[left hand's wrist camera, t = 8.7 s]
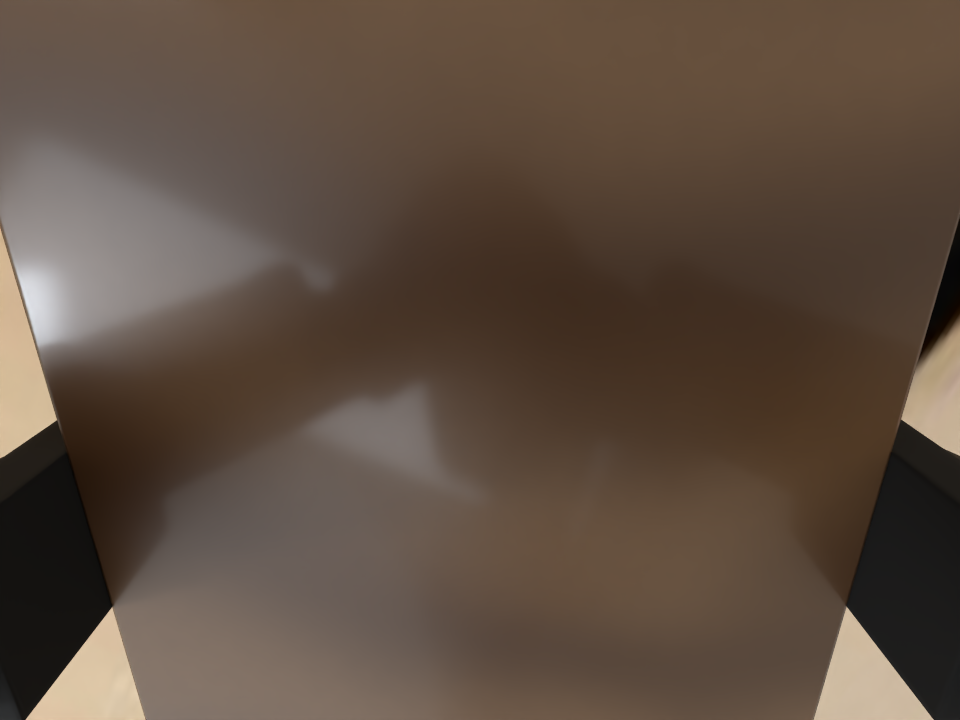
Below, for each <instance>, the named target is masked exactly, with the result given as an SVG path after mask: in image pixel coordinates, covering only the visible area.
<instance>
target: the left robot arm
mask: <svg viewBox="0 0 960 720" xmlns="http://www.w3.org/2000/svg"><path fill="white" fill-rule="evenodd" d="M847 607H848V609H849V610H850V611H851V613H852V614H853V615H854V617H855V618H856V619H857V620H858V622H859V623H860V624H861V626H862V627H863V628H864V630H865V631H866V632H867V633H868V635H869V636H870V637H871V639H872V640H873V641H874V643H875V644H876V645H877V646H878V648H879V649H880V650H881V652H882V653H883V654H884V656H885V657H886V658H887V659H888V661H889V662H890V663H891V665H892V666H893V667H894V669H895V670H896V671H897V672H898V674H899V675H900V676H901V678H902V679H903V680H904V682H905V683H906V684H907V685H908V687H909V688H910V689H911V691H912V692H913V693H914V694H915V696H916V697H917V698H918V700H919V701H920V702H921V704H922V705H923V706H924V707H925V709H926V710H927V711H928V713H929V714H930V715H931V717H932V718H933V719H934V720H960V456H959V455H956V454H954V453H952V452H950V451H947V450H945V449H943V448H942V447H940V446H939V445H937V444H936V443H934V442H933V441H931V440H930V439H928V438H927V437H926V436H924V435H923V434H921V433H920V432H918V431H917V430H915V429H914V428H912V427H911V426H910V425H908V424H907V423H905V422H904V421H902V420H901V421H900V424H899V427H898V431H897V434H896V438H895V441H894V445H893V448H892V452H891V455H890V458H889V462H888V465H887V469H886V472H885V476H884V479H883V483H882V486H881V489H880V493H879V496H878V500H877V503H876V507H875V510H874V513H873V517H872V520H871V524H870V527H869V531H868V534H867V538H866V541H865V544H864V548H863V551H862V555H861V558H860V562H859V565H858V568H857V572H856V575H855V579H854V582H853V586H852V589H851V593H850V596H849V599H848V603H847ZM111 608H112V604H111V600H110V597H109V594H108V590H107V587H106V584H105V580H104V577H103V573H102V570H101V567H100V563H99V560H98V556H97V553H96V550H95V546H94V543H93V540H92V536H91V533H90V529H89V526H88V523H87V519H86V516H85V512H84V509H83V506H82V502H81V499H80V495H79V492H78V489H77V485H76V482H75V479H74V475H73V472H72V468H71V465H70V462H69V458H68V455H67V451H66V448H65V445H64V441H63V438H62V435H61V431H60V428H59V424H58V421H55V422H54V423H53V424H51V425H50V426H48V427H47V428H45V429H44V430H42V431H41V432H39V433H38V434H37V435H35V436H34V437H32V438H31V439H29V440H28V441H26V442H25V443H23V444H22V445H21V446H19V447H18V448H16V449H15V450H13V451H12V452H10V453H9V454H7V455H6V456H4V457H2V458H0V720H26V718H27V717H28V716H29V714H30V713H31V712H32V710H33V709H34V708H35V707H36V705H37V704H38V703H39V701H40V700H41V699H42V697H43V696H44V695H45V694H46V692H47V691H48V690H49V688H50V687H51V686H52V684H53V683H54V682H55V681H56V679H57V678H58V677H59V675H60V674H61V673H62V671H63V670H64V669H65V668H66V666H67V665H68V664H69V662H70V661H71V660H72V658H73V657H74V656H75V655H76V653H77V652H78V651H79V649H80V648H81V647H82V645H83V644H84V643H85V642H86V640H87V639H88V638H89V636H90V635H91V634H92V632H93V631H94V630H95V629H96V627H97V626H98V625H99V623H100V622H101V621H102V619H103V618H104V617H105V616H106V614H107V613H108V612H109V610H110V609H111Z"/></svg>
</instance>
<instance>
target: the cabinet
mask: <svg viewBox="0 0 960 720" xmlns="http://www.w3.org/2000/svg"><path fill="white" fill-rule="evenodd" d="M959 218H960V0H0V228H1V231H2V235H3V238H4V241H5V245H6V248H7V252H8V255H9V258H10V262H11V265H12V269H13V272H14V275H15V279H16V282H17V286H18V289H19V292H20V296H21V299H22V302H23V306H24V309H25V313H26V316H27V319H28V323H29V326H30V330H31V333H32V336H33V340H34V343H35V346H36V350H37V353H38V357H39V360H40V363H41V367H42V370H43V374H44V377H45V380H46V384H47V387H48V391H49V394H50V397H51V401H52V404H53V407H54V411H55V414H56V418H57V421H58V424H59V428H60V431H61V435H62V438H63V441H64V445H65V448H66V451H67V455H68V458H69V462H70V465H71V468H72V472H73V475H74V479H75V482H76V485H77V489H78V492H79V495H80V499H81V502H82V506H83V509H84V512H85V516H86V519H87V523H88V526H89V529H90V533H91V536H92V540H93V543H94V546H95V550H96V553H97V556H98V560H99V563H100V567H101V570H102V573H103V577H104V580H105V584H106V587H107V590H108V594H109V597H110V600H111V604H112V607H113V611H114V614H115V617H116V621H117V624H118V628H119V631H120V634H121V638H122V641H123V645H124V648H125V651H126V655H127V658H128V661H129V665H130V668H131V672H132V675H133V678H134V682H135V685H136V689H137V692H138V695H139V699H140V702H141V705H142V709H143V712H144V716H145V719H146V720H814V716H815V713H816V709H817V706H818V703H819V699H820V696H821V692H822V689H823V685H824V682H825V679H826V675H827V672H828V668H829V665H830V661H831V658H832V654H833V651H834V648H835V644H836V641H837V637H838V634H839V630H840V627H841V623H842V620H843V617H844V613H845V610H846V606H847V603H848V599H849V596H850V593H851V589H852V586H853V582H854V579H855V575H856V572H857V568H858V565H859V562H860V558H861V555H862V551H863V548H864V544H865V541H866V538H867V534H868V531H869V527H870V524H871V520H872V517H873V513H874V510H875V507H876V503H877V500H878V496H879V493H880V489H881V486H882V483H883V479H884V476H885V472H886V469H887V465H888V462H889V458H890V455H891V452H892V448H893V445H894V441H895V438H896V434H897V431H898V427H899V424H900V421H901V417H902V414H903V410H904V407H905V403H906V400H907V397H908V393H909V390H910V386H911V383H912V379H913V376H914V372H915V369H916V366H917V362H918V359H919V355H920V352H921V348H922V345H923V342H924V338H925V335H926V331H927V328H928V324H929V321H930V317H931V314H932V311H933V307H934V304H935V300H936V297H937V293H938V290H939V286H940V283H941V280H942V276H943V273H944V269H945V266H946V262H947V259H948V256H949V252H950V249H951V245H952V242H953V238H954V235H955V231H956V228H957V225H958V221H959Z"/></svg>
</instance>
